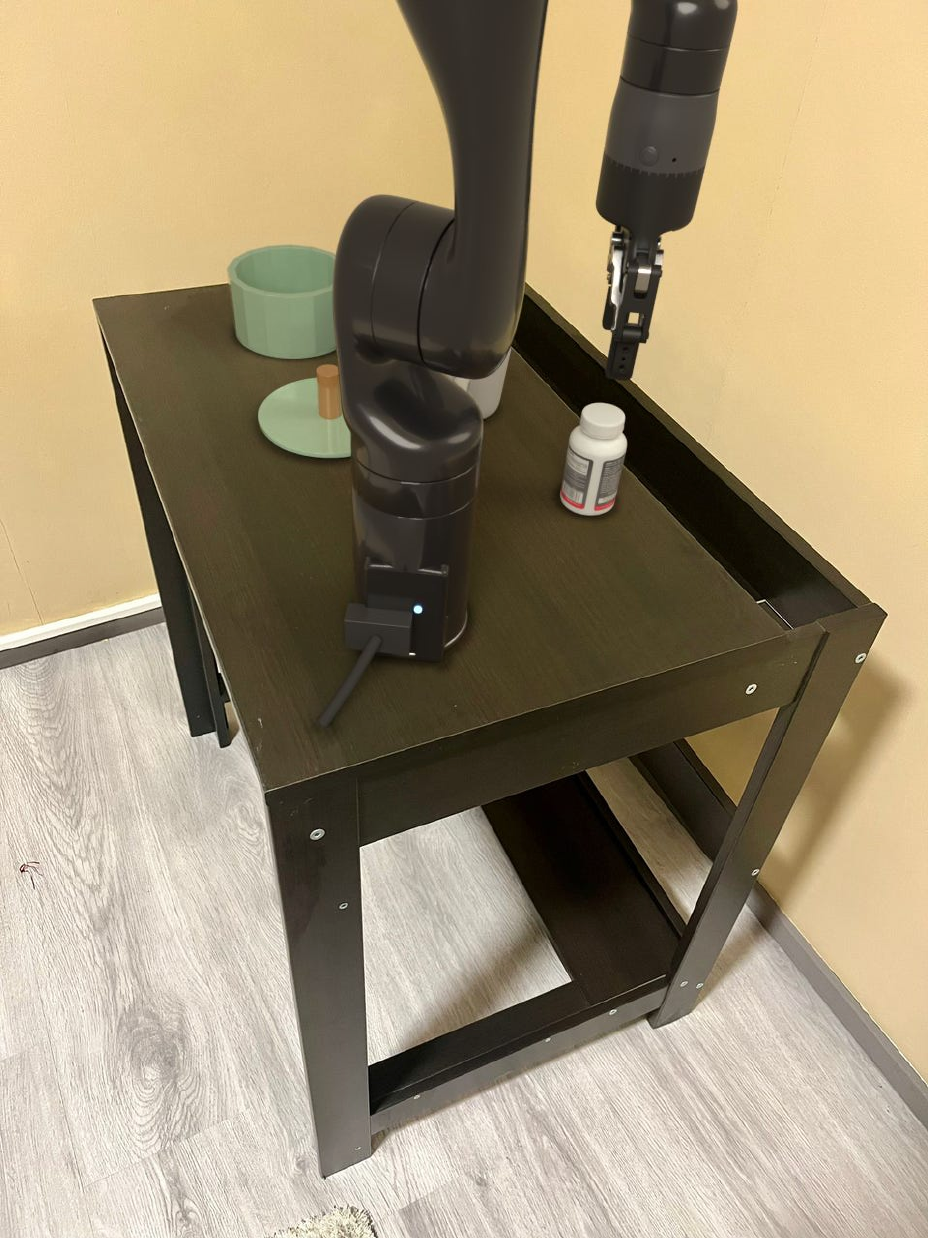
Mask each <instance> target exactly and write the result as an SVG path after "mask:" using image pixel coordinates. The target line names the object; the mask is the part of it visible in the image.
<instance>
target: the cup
mask: <svg viewBox="0 0 928 1238" xmlns="http://www.w3.org/2000/svg"><path fill="white" fill-rule="evenodd" d="M511 352H512V347H511V348H510V350H509V352H508V354H507V356H506V358H505V360H504V361H503V363H502V364H501V366H500V367H499V368H498V369H497V370H496V371H495V372H494V373H493V374H492V375H490V376H488V377H486V378H483V379H478V380H472V379H464V378H458V377H454V376H450V375H447V374H445V375H446V376H448V377H449V378H450V379H451V380H452V381H454V382H455V383H456V384H458V385H459V386H460V387H462V388H463V389H464V390H465V391H466V392H468V393H469V394H470V395H471V396H472V397H473V399H474V400H475V401H476V403H477V404H478V405H479V407H480V410H481V412H482V415H483V419H487V418H489V417H490V416H492V415H493V414H494V413H495V412H496V411H497V409H498V406H499V404H500V401H501V396H502V392H503V388H504V384H505V379H506V375H507V374H506V373H507V370H508V365H509V360H510V357H511Z"/></svg>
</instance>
